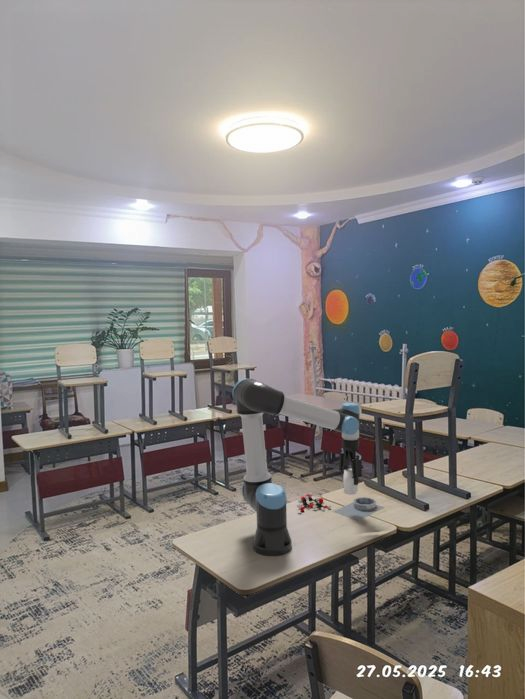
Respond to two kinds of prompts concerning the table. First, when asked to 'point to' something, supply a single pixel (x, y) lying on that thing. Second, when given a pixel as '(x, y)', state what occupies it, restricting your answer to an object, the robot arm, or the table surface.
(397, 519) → the table surface
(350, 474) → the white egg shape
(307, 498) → the molecular model
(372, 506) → the duct collar
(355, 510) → the board
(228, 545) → the table surface
